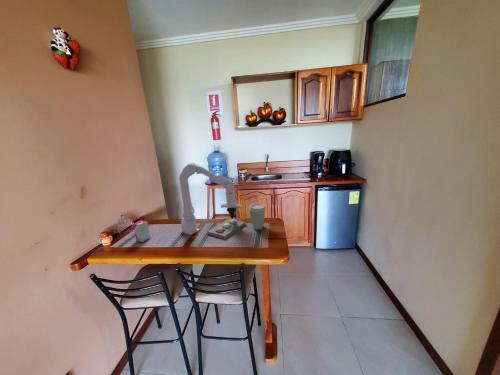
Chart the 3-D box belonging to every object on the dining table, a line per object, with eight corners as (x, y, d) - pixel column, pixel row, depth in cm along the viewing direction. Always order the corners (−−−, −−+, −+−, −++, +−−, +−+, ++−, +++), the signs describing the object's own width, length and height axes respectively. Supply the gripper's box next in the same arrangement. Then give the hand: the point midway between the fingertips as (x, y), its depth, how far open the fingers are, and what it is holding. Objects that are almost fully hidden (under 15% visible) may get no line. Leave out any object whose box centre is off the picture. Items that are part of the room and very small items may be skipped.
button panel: (207, 234, 121) (207, 231, 121) (228, 221, 138) (228, 218, 138) (225, 239, 114) (224, 236, 114) (245, 224, 131) (244, 222, 131)
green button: (228, 223, 131) (228, 221, 130) (232, 221, 134) (232, 218, 133) (233, 224, 128) (233, 222, 128) (237, 222, 132) (236, 219, 131)
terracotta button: (215, 232, 120) (215, 229, 120) (219, 229, 123) (219, 226, 123) (220, 233, 118) (220, 230, 117) (224, 230, 121) (224, 227, 121)
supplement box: (151, 238, 122) (147, 221, 119) (142, 242, 116) (138, 225, 114) (144, 236, 124) (141, 219, 121) (136, 241, 119) (132, 223, 116)
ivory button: (222, 227, 125) (222, 225, 125) (226, 225, 129) (226, 222, 128) (227, 229, 123) (227, 226, 123) (231, 226, 126) (231, 223, 126)
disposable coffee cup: (264, 223, 132) (263, 201, 128) (268, 230, 122) (267, 207, 118) (249, 224, 131) (247, 203, 127) (251, 232, 120) (250, 209, 117)
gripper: (217, 200, 126) (220, 219, 129) (238, 201, 121) (240, 221, 124) (222, 196, 132) (224, 215, 135) (242, 197, 127) (244, 217, 131)
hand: (232, 218), depth 130 cm, fingers closed
